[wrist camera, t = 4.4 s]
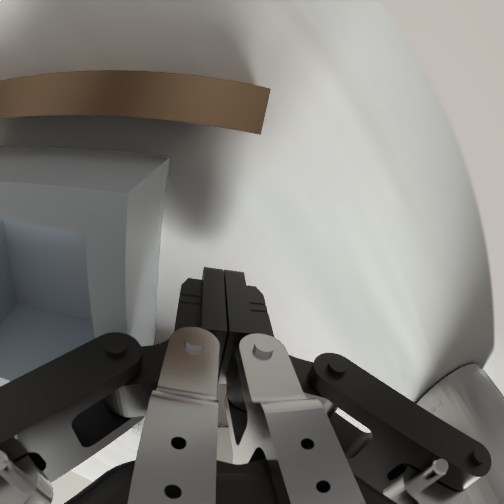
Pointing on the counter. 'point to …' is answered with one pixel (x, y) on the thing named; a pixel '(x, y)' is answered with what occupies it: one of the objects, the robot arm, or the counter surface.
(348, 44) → the counter surface
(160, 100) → the bay
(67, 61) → the counter surface
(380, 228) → the counter surface
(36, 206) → the box
